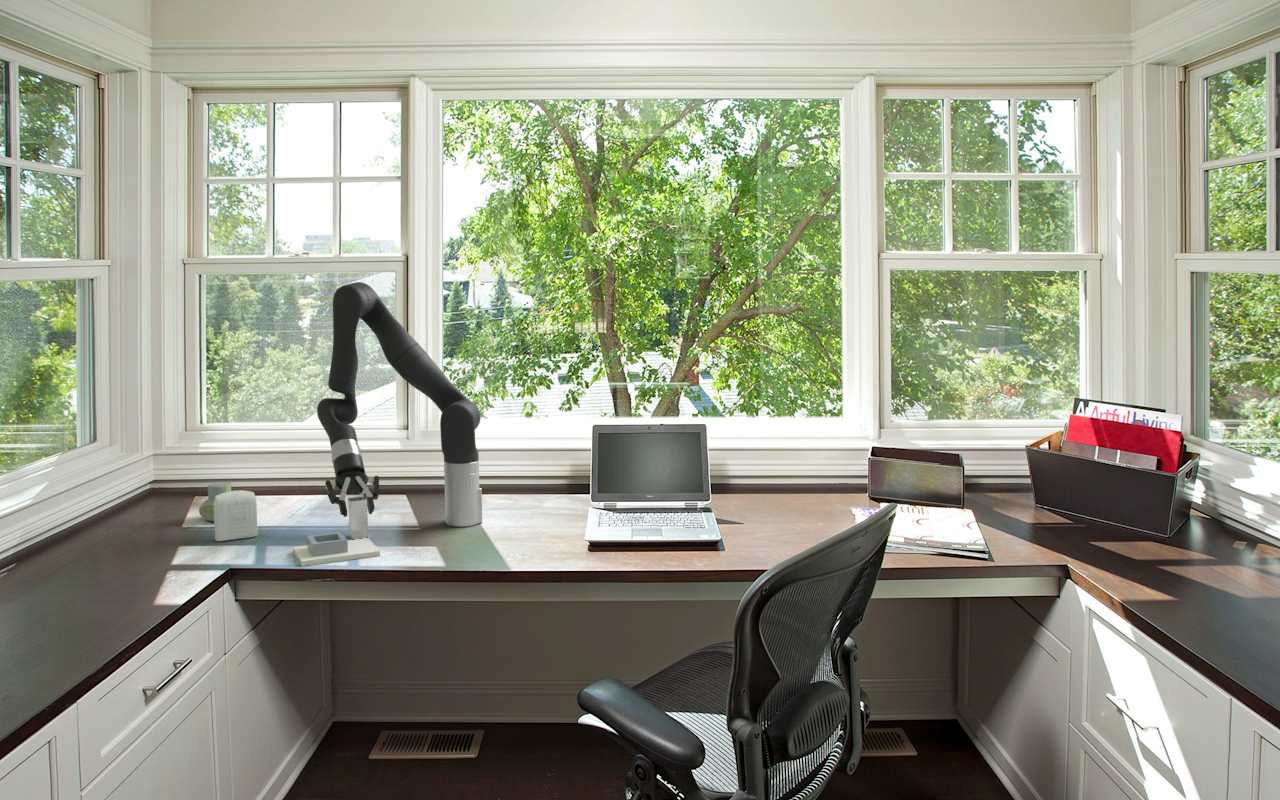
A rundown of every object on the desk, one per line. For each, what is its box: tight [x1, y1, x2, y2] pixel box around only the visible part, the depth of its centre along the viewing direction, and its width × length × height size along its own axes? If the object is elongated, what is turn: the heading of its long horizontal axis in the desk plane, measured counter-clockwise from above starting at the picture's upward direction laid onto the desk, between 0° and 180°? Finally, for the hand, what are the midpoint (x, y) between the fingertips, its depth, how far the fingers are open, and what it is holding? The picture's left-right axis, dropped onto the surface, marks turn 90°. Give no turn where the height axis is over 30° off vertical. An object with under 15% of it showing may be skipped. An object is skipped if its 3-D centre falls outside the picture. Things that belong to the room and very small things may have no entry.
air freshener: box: [198, 481, 232, 523], centre depth 266 cm, size 11×8×10 cm
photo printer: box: [213, 489, 259, 542], centre depth 247 cm, size 10×4×12 cm, turn 123°
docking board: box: [292, 531, 381, 567], centre depth 234 cm, size 18×13×4 cm
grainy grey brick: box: [347, 496, 369, 540], centre depth 249 cm, size 4×4×10 cm
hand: (358, 513), depth 248 cm, fingers open, 5 cm apart
